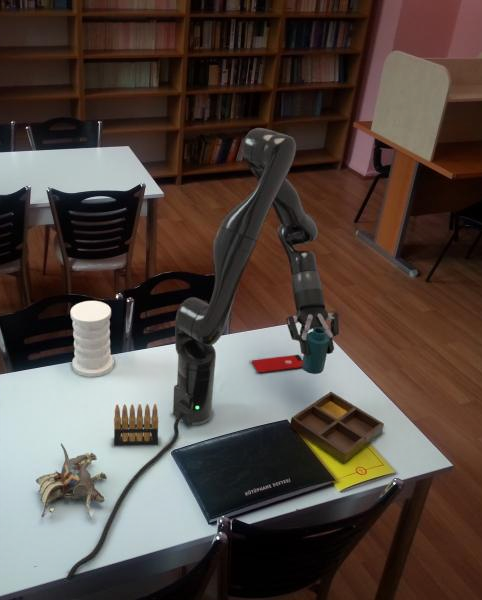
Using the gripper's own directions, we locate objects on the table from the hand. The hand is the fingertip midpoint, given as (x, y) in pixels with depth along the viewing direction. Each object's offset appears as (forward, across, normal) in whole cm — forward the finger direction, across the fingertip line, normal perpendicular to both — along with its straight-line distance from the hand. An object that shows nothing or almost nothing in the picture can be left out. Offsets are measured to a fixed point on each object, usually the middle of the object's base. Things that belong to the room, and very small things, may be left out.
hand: (318, 354), depth 156 cm
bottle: (+3, 0, +5) cm, 6 cm away
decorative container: (-7, -55, +32) cm, 64 cm away
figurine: (+25, -64, -1) cm, 69 cm away
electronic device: (-1, -2, +26) cm, 26 cm away
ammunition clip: (+16, -48, +8) cm, 51 cm away
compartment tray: (+19, +3, +5) cm, 20 cm away
